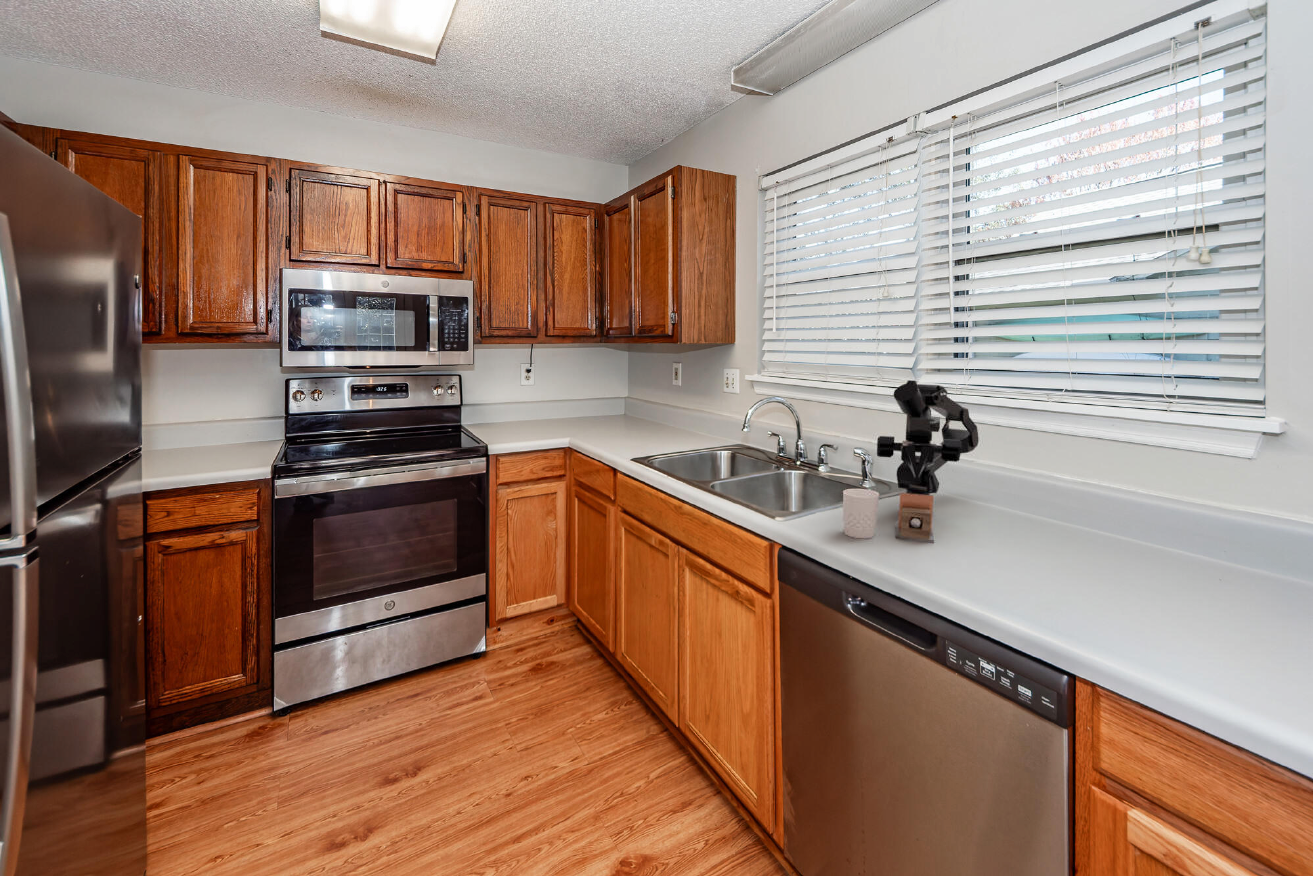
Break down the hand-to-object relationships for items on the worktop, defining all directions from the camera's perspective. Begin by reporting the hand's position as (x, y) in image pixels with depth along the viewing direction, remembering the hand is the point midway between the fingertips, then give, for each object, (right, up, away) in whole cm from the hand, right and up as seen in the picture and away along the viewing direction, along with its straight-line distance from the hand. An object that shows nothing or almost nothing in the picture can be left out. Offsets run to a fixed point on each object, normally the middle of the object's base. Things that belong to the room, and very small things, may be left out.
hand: (916, 477), depth 138 cm
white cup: (-14, -13, -2) cm, 20 cm away
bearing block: (-2, -13, -2) cm, 13 cm away
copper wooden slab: (-3, -13, -5) cm, 14 cm away
